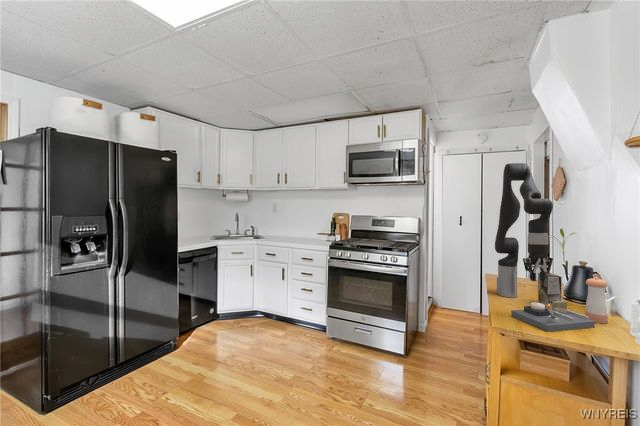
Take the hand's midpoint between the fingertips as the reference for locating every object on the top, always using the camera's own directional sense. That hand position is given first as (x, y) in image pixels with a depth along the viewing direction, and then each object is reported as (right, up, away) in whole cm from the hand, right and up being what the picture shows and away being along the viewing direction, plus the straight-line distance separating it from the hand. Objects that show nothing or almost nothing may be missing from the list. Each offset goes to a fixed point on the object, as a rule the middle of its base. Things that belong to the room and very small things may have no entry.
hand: (537, 280), depth 132 cm
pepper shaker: (+24, -17, -3) cm, 30 cm away
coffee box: (+18, -17, +17) cm, 30 cm away
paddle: (+10, -15, 0) cm, 18 cm away
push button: (0, -13, 0) cm, 13 cm away
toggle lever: (-1, -13, -10) cm, 17 cm away
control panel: (+3, -17, -3) cm, 18 cm away
